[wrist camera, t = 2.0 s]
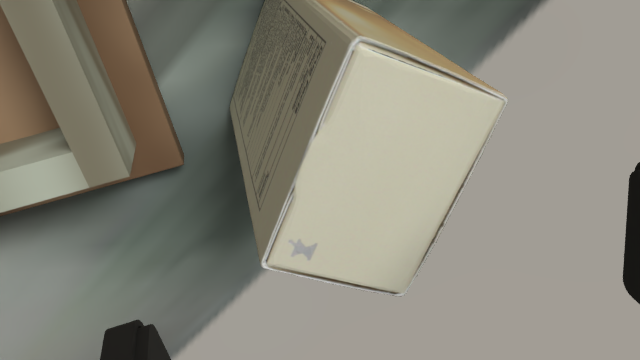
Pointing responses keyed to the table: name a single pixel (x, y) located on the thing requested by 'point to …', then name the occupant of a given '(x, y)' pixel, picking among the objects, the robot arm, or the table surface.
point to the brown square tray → (76, 102)
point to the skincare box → (353, 143)
